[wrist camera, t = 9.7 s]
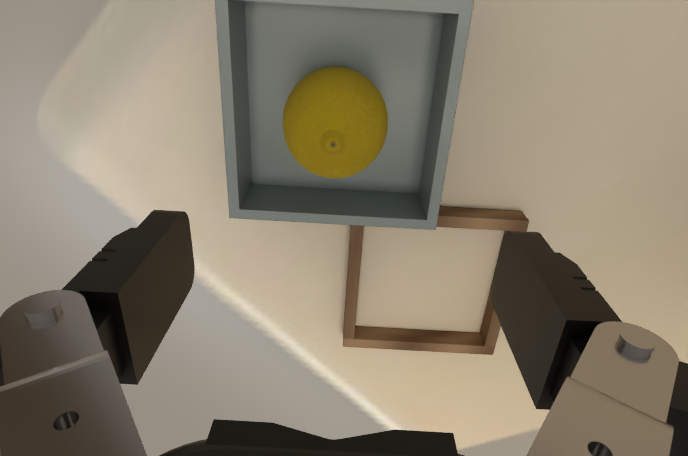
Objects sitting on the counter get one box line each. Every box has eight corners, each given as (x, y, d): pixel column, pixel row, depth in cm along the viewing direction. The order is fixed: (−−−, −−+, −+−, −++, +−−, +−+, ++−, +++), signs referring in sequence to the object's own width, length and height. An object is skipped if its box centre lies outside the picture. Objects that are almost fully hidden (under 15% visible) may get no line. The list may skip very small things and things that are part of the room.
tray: (521, 211, 32) (529, 221, 30) (487, 341, 37) (492, 354, 36) (352, 201, 32) (352, 210, 30) (343, 333, 37) (342, 346, 36)
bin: (455, -2, 26) (473, 0, 22) (425, 198, 31) (435, 229, 27) (235, -16, 26) (213, -16, 22) (245, 188, 31) (229, 217, 27)
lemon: (358, 163, 30) (359, 218, 22) (278, 126, 29) (253, 170, 21) (400, 84, 27) (416, 116, 20) (315, 39, 26) (300, 57, 19)
